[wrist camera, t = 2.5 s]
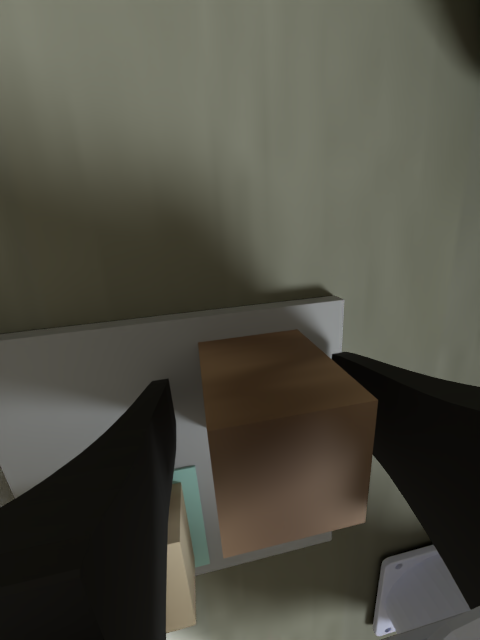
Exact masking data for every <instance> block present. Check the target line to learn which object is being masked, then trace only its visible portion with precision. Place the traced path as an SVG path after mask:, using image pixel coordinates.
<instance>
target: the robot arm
mask: <svg viewBox="0 0 480 640" xmlns="http://www.w3.org/2000/svg"><path fill="white" fill-rule="evenodd" d="M332 360H333V361H334V362H335V363H336V364H338V365H339V366H340V367H341V368H342V369H343V370H344V371H346V372H347V373H348V374H349V375H350V376H351V377H352V378H354V379H355V380H356V381H357V382H358V383H359V384H360V385H362V386H363V387H364V388H365V389H366V390H367V391H368V392H370V393H371V394H372V395H373V396H374V397H375V398H376V399H378V407H377V416H376V426H375V435H374V444H373V455H374V457H375V458H376V459H377V460H378V461H379V463H380V464H381V465H382V467H383V468H384V469H385V471H386V472H387V473H388V475H389V476H390V477H391V479H392V480H393V482H394V483H395V485H396V486H397V488H398V489H399V491H400V492H401V494H402V495H403V497H404V498H405V500H406V501H407V503H408V504H409V506H410V508H411V509H412V511H413V512H414V514H415V515H416V517H417V519H418V520H419V522H420V523H421V525H422V526H423V528H424V530H425V531H426V533H427V535H428V536H429V538H430V540H431V541H432V543H433V545H430V546H426V547H423V548H419V549H415V550H412V551H408V552H405V553H401V554H398V555H394V556H390V557H387V558H386V559H384V560H383V561H382V565H381V572H380V579H379V586H378V593H377V600H376V607H375V614H374V621H373V631H374V633H375V635H377V636H382V635H385V634H388V633H391V632H394V631H396V632H397V634H396V635H393V636H390V637H387V638H384V639H381V640H480V387H477V386H471V385H466V384H461V383H457V382H452V381H447V380H443V379H438V378H434V377H430V376H427V375H423V374H419V373H416V372H412V371H409V370H406V369H402V368H399V367H396V366H393V365H389V364H386V363H383V362H380V361H377V360H374V359H371V358H368V357H364V356H361V355H357V354H354V353H349V352H341V353H335V354H332ZM175 457H176V419H175V413H174V407H173V401H172V395H171V389H170V384H169V378H168V379H162V380H155V381H152V382H151V383H150V384H149V385H148V386H147V387H146V388H145V390H144V391H143V392H142V393H141V394H140V396H139V397H138V398H137V399H136V400H135V401H134V403H133V404H132V405H131V406H130V407H129V408H128V409H127V410H126V412H125V413H124V414H123V415H122V416H121V417H120V418H119V419H118V420H117V421H116V422H115V423H114V424H113V425H112V426H111V427H110V428H109V429H108V430H107V431H106V432H105V433H103V434H102V435H101V436H100V437H99V438H98V439H97V440H96V441H94V442H93V443H92V444H91V445H90V446H88V447H87V448H86V449H85V450H84V451H83V452H81V453H80V454H79V455H78V456H76V457H75V458H73V459H72V460H71V461H69V462H68V463H67V464H65V465H64V466H63V467H61V468H60V469H58V470H57V471H56V472H54V473H53V474H52V475H50V476H49V477H48V478H46V479H45V480H43V481H42V482H40V483H39V484H37V485H36V486H34V487H33V488H31V489H30V490H28V491H27V492H25V493H23V494H22V495H20V496H19V497H17V498H15V499H14V500H12V501H11V502H9V503H7V504H6V505H4V506H2V507H1V508H0V640H166V586H167V541H168V518H169V507H170V499H171V490H172V482H173V474H174V465H175Z"/></svg>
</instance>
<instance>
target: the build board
mask: <svg viewBox="0 0 480 640" xmlns="http://www.w3.org/2000/svg"><path fill="white" fill-rule="evenodd" d="M343 316H344V299H341V298H339V297H337V296H326V297H317V298H308V299H300V300H291V301H283V302H274V303H265V304H257V305H248V306H239V307H231V308H222V309H213V310H205V311H196V312H188V313H179V314H170V315H162V316H153V317H144V318H136V319H127V320H118V321H110V322H101V323H92V324H84V325H75V326H67V327H58V328H49V329H41V330H32V331H23V332H15V333H6V334H0V466H1V469H2V471H3V473H4V475H5V478H6V480H7V482H8V484H9V487H10V489H11V491H12V494H13V496H14V498H17V497H19V496H20V495H22V494H23V493H25V492H27V491H28V490H30V489H31V488H33V487H34V486H36V485H37V484H39V483H40V482H42V481H43V480H45V479H46V478H48V477H49V476H50V475H52V474H53V473H54V472H56V471H57V470H58V469H60V468H61V467H63V466H64V465H65V464H67V463H68V462H69V461H71V460H72V459H73V458H75V457H76V456H78V455H79V454H80V453H81V452H83V451H84V450H85V449H86V448H87V447H88V446H90V445H91V444H92V443H93V442H94V441H96V440H97V439H98V438H99V437H100V436H101V435H102V434H103V433H105V432H106V431H107V430H108V429H109V428H110V427H111V426H112V425H113V424H114V423H115V422H116V421H117V420H118V419H119V418H120V417H121V416H122V415H123V414H124V413H125V412H126V410H127V409H128V408H129V407H130V406H131V405H132V404H133V403H134V401H135V400H136V399H137V398H138V397H139V396H140V394H141V393H142V392H143V391H144V390H145V388H146V387H147V386H148V385H149V384H150V383H151V382H152V381H155V380H162V379H168V378H169V384H170V389H171V395H172V401H173V407H174V413H175V419H176V457H175V465H174V474H173V482H172V484H176V483H181V485H182V490H183V496H184V501H185V507H186V513H187V518H188V524H189V529H190V535H191V541H192V546H193V552H194V557H195V576H197V575H201V574H205V573H209V572H213V571H216V570H220V569H224V568H228V567H232V566H236V565H239V564H243V563H247V562H251V561H255V560H259V559H262V558H266V557H270V556H274V555H278V554H282V553H285V552H289V551H293V550H297V549H301V548H305V547H308V546H312V545H316V544H320V543H324V542H328V541H331V540H332V531H330V532H326V533H322V534H318V535H314V536H310V537H306V538H302V539H299V540H295V541H291V542H287V543H283V544H279V545H275V546H271V547H267V548H263V549H259V550H255V551H252V552H248V553H244V554H240V555H236V556H232V557H228V558H224V559H223V552H222V544H221V536H220V529H219V521H218V513H217V505H216V498H215V490H214V482H213V474H212V467H211V459H210V451H209V444H208V436H207V427H206V417H205V408H204V398H203V388H202V378H201V368H200V358H199V349H198V342H205V341H213V340H220V339H228V338H235V337H243V336H250V335H258V334H265V333H273V332H280V331H288V330H295V329H298V330H299V331H300V332H301V333H302V334H303V335H305V336H306V337H307V338H308V339H309V340H310V341H311V342H313V343H314V344H315V345H316V346H317V347H318V348H319V349H320V350H322V351H323V352H324V353H325V354H326V355H327V356H328V357H330V358H331V359H332V354H335V353H341V352H342V335H343Z"/></svg>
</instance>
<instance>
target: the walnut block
mask: <svg viewBox="0 0 480 640" xmlns="http://www.w3.org/2000/svg"><path fill="white" fill-rule="evenodd" d="M198 349H199V358H200V368H201V378H202V388H203V398H204V408H205V417H206V427H207V436H208V444H209V451H210V459H211V467H212V474H213V482H214V490H215V498H216V505H217V513H218V521H219V529H220V536H221V544H222V552H223V559H224V558H228V557H232V556H236V555H240V554H244V553H248V552H252V551H255V550H259V549H263V548H267V547H271V546H275V545H279V544H283V543H287V542H291V541H295V540H299V539H302V538H306V537H310V536H314V535H318V534H322V533H326V532H330V531H334V530H338V529H342V528H346V527H349V526H353V525H357V524H361V523H365V520H366V510H367V501H368V492H369V482H370V473H371V463H372V454H373V444H374V435H375V426H376V416H377V407H378V399H376V398H375V397H374V396H373V395H372V394H371V393H370V392H368V391H367V390H366V389H365V388H364V387H363V386H362V385H360V384H359V383H358V382H357V381H356V380H355V379H354V378H352V377H351V376H350V375H349V374H348V373H347V372H346V371H344V370H343V369H342V368H341V367H340V366H339V365H338V364H336V363H335V362H334V361H333V360H332V359H331V358H330V357H328V356H327V355H326V354H325V353H324V352H323V351H322V350H320V349H319V348H318V347H317V346H316V345H315V344H314V343H313V342H311V341H310V340H309V339H308V338H307V337H306V336H305V335H303V334H302V333H301V332H300V331H299V330H298V329H295V330H288V331H280V332H273V333H265V334H258V335H250V336H243V337H235V338H228V339H220V340H213V341H205V342H198Z"/></svg>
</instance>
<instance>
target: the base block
mask: <svg viewBox="0 0 480 640" xmlns="http://www.w3.org/2000/svg"><path fill="white" fill-rule="evenodd" d="M193 625H196V595H195V557H194V552H193V546H192V541H191V535H190V529H189V524H188V518H187V513H186V507H185V501H184V496H183V490H182V485H181V483H176V484H172V490H171V499H170V507H169V518H168V541H167V586H166V633H169V632H173V631H176V630H180V629H183V628H187V627H190V626H193Z"/></svg>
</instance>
